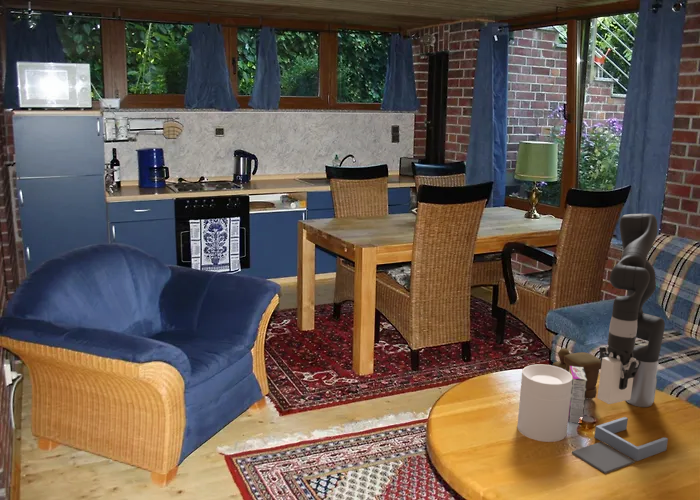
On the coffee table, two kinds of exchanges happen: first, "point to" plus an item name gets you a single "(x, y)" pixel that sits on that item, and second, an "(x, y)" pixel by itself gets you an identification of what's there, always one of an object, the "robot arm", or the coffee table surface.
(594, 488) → the coffee table surface
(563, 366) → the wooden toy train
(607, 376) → the packed carton
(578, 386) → the candy bar box
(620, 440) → the frame
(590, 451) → the rubber pad
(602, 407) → the coffee table surface
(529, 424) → the canister
